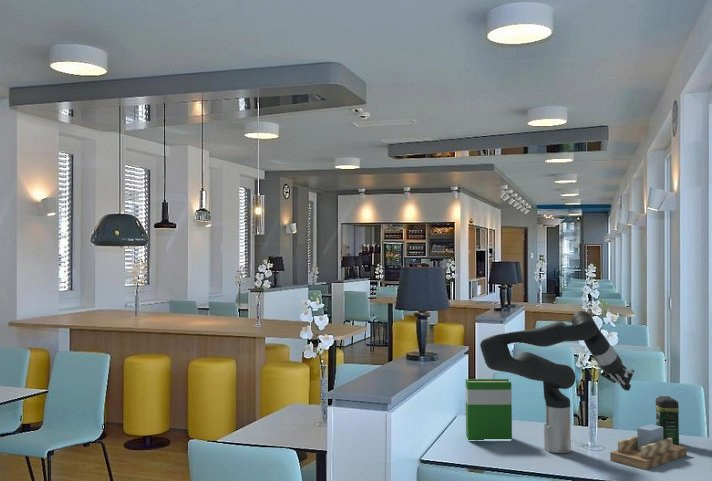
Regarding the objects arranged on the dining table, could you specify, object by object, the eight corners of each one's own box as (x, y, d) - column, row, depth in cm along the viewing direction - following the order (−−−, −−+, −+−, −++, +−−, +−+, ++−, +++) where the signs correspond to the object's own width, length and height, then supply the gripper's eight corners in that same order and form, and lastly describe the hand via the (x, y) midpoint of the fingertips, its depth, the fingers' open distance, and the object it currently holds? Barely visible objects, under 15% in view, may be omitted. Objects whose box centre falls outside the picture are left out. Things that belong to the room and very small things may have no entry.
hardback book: (508, 436, 291) (508, 379, 291) (512, 441, 283) (511, 382, 284) (466, 436, 292) (465, 379, 292) (468, 441, 284) (467, 382, 285)
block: (650, 452, 256) (650, 430, 256) (637, 449, 260) (637, 428, 260) (663, 448, 262) (663, 426, 262) (650, 445, 266) (650, 424, 266)
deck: (646, 469, 246) (645, 449, 246) (610, 460, 257) (610, 441, 257) (686, 455, 263) (686, 436, 263) (651, 447, 274) (651, 429, 274)
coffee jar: (681, 447, 273) (681, 399, 273) (660, 446, 274) (659, 399, 275) (674, 441, 283) (673, 394, 283) (653, 440, 284) (653, 394, 284)
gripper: (585, 364, 249) (608, 395, 256) (619, 365, 239) (641, 398, 245) (593, 348, 253) (614, 379, 260) (626, 348, 243) (648, 381, 249)
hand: (627, 388), depth 252 cm, fingers closed
